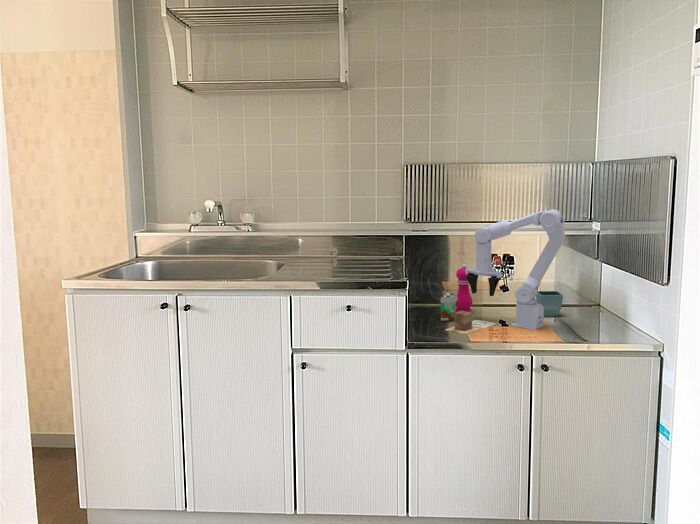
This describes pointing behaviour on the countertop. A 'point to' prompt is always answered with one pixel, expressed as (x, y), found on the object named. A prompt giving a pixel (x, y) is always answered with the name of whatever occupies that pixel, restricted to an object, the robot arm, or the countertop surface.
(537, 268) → the robot arm
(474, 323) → the tile
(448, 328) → the coaster
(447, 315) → the food container
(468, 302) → the pepper mill
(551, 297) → the flower pot
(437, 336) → the countertop surface
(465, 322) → the block
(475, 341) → the countertop surface
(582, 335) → the countertop surface
